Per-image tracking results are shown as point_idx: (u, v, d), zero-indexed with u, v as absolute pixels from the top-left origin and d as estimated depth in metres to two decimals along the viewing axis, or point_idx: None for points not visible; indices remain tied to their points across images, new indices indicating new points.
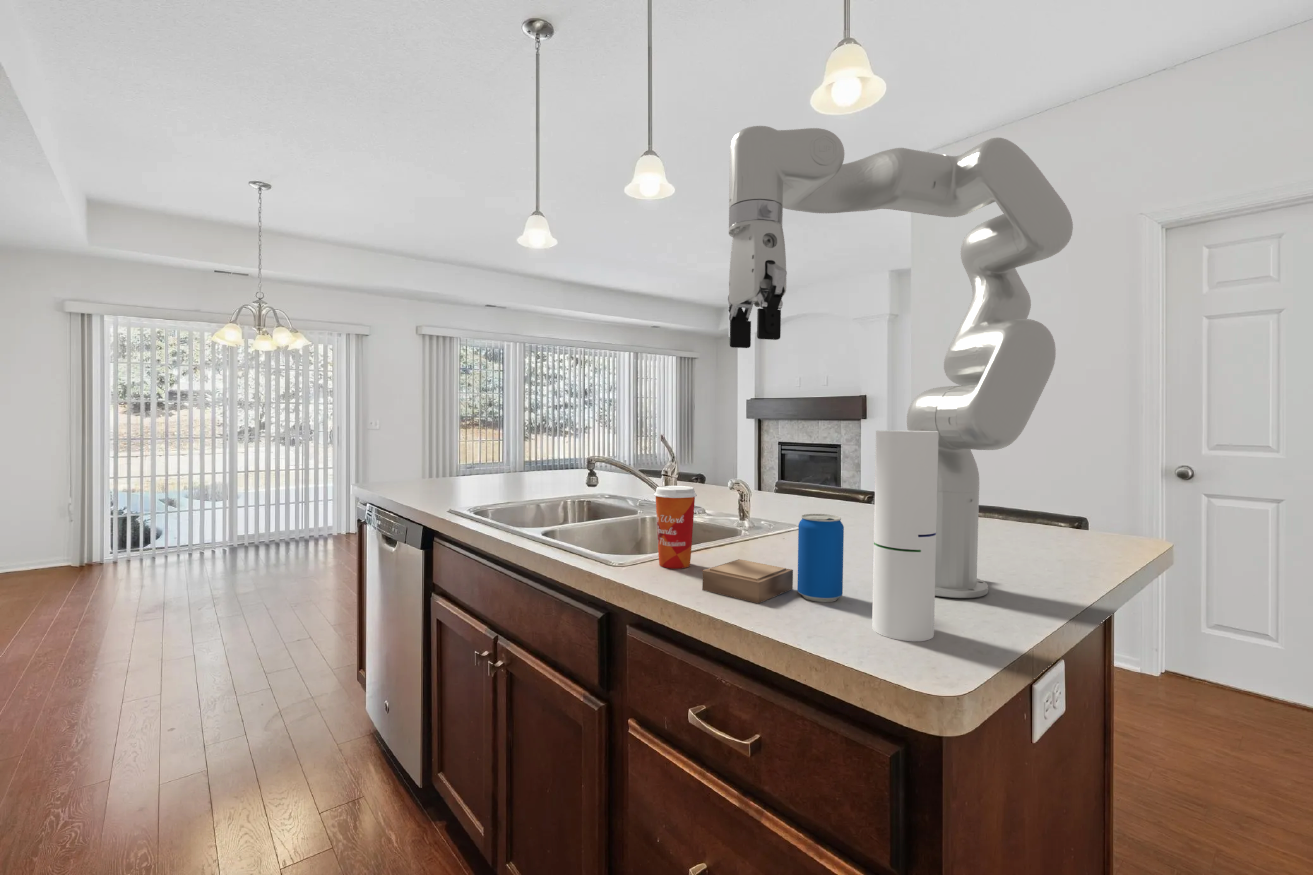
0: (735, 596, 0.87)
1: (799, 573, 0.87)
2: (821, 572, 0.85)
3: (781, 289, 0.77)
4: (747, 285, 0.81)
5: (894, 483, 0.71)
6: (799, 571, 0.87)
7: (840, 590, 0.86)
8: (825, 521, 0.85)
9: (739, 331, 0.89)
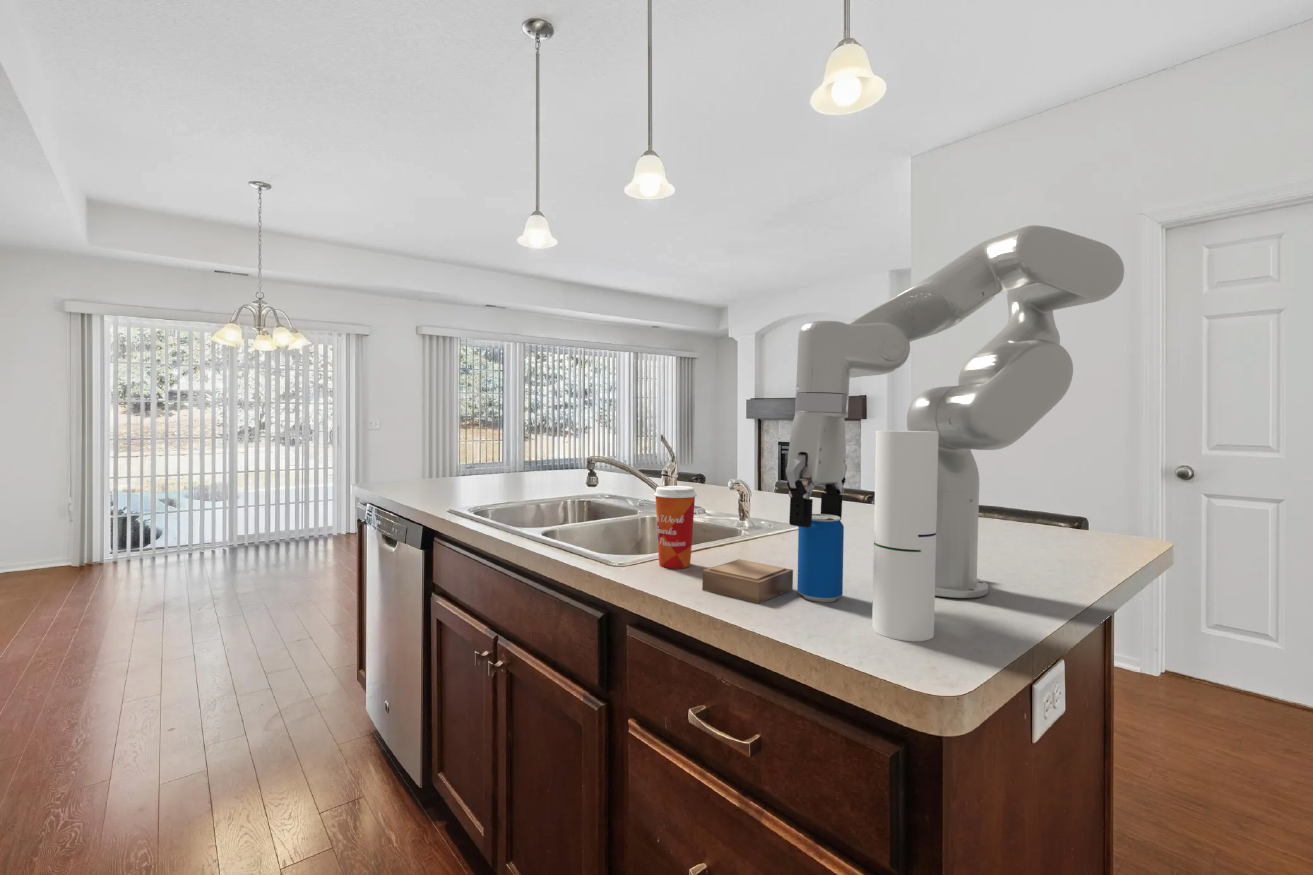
0: (735, 596, 0.87)
1: (799, 573, 0.87)
2: (821, 572, 0.85)
3: None
4: (839, 472, 0.88)
5: (894, 483, 0.71)
6: (799, 571, 0.87)
7: (840, 590, 0.86)
8: (825, 521, 0.85)
9: None
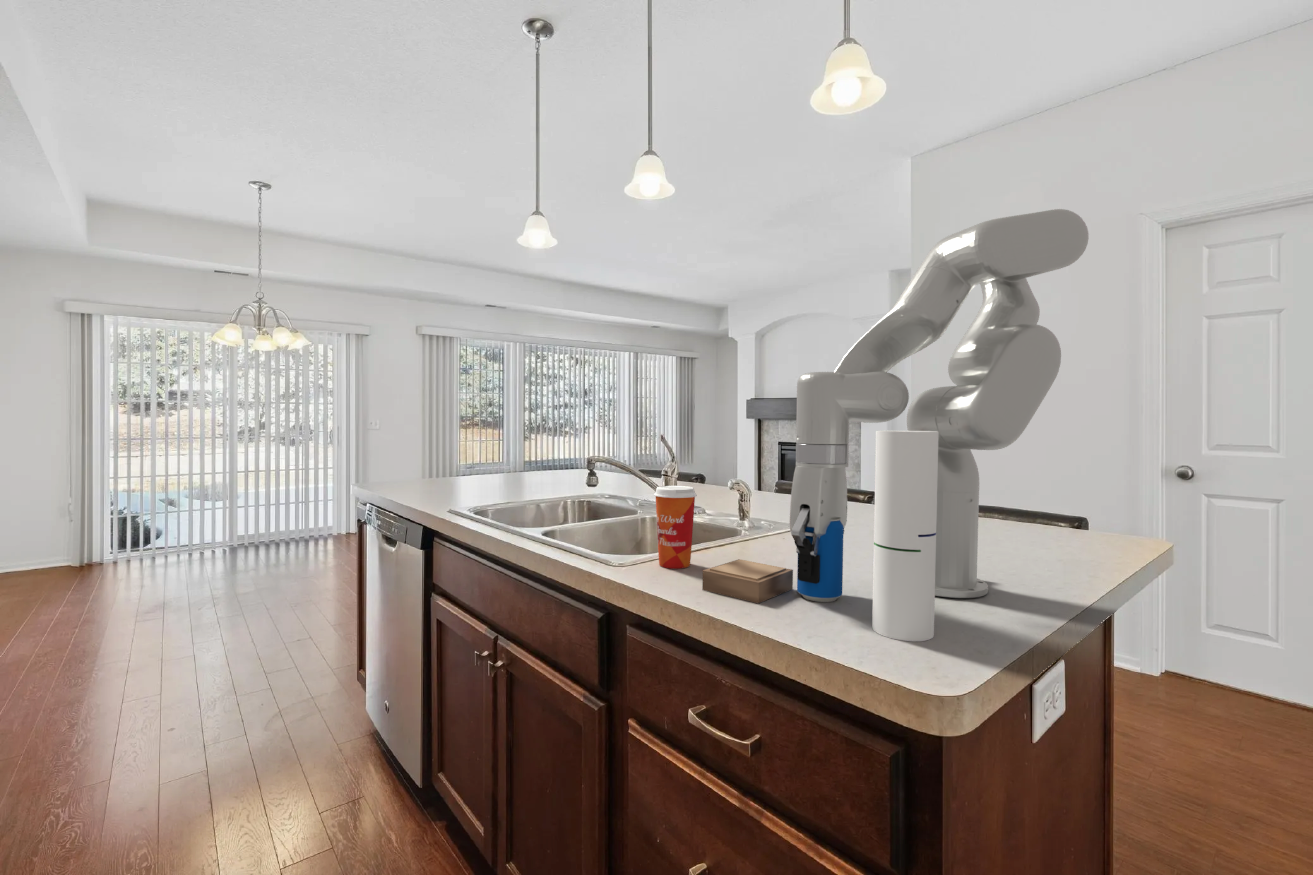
0: (735, 596, 0.87)
1: None
2: (820, 572, 0.85)
3: None
4: (842, 520, 0.88)
5: (894, 483, 0.71)
6: None
7: (840, 590, 0.86)
8: None
9: None
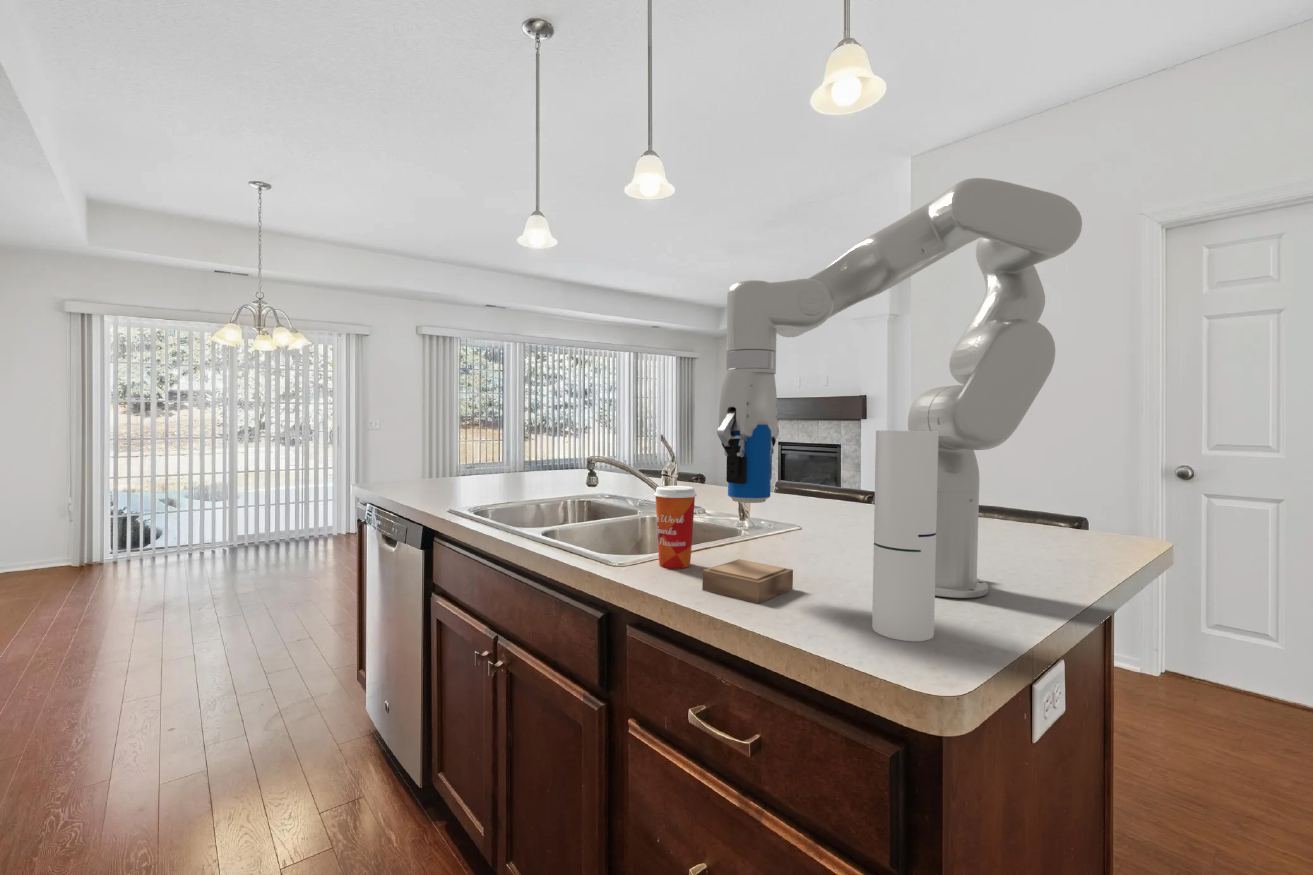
0: (735, 596, 0.87)
1: None
2: (747, 473, 0.88)
3: None
4: (771, 427, 0.91)
5: (894, 483, 0.71)
6: None
7: (767, 492, 0.89)
8: None
9: None
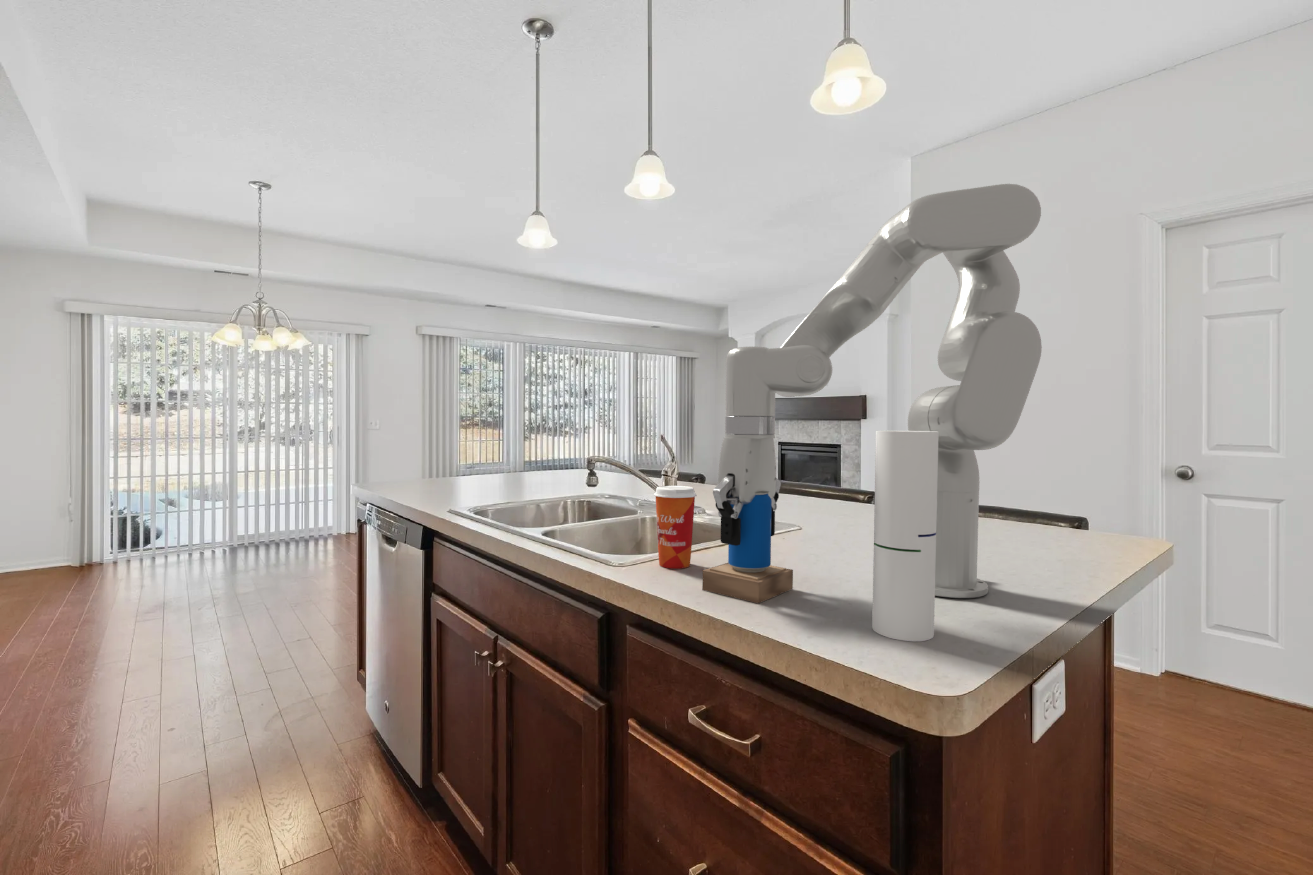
0: (735, 596, 0.87)
1: (729, 545, 0.91)
2: (747, 543, 0.88)
3: None
4: (769, 490, 0.92)
5: (894, 483, 0.71)
6: None
7: (767, 561, 0.89)
8: None
9: None
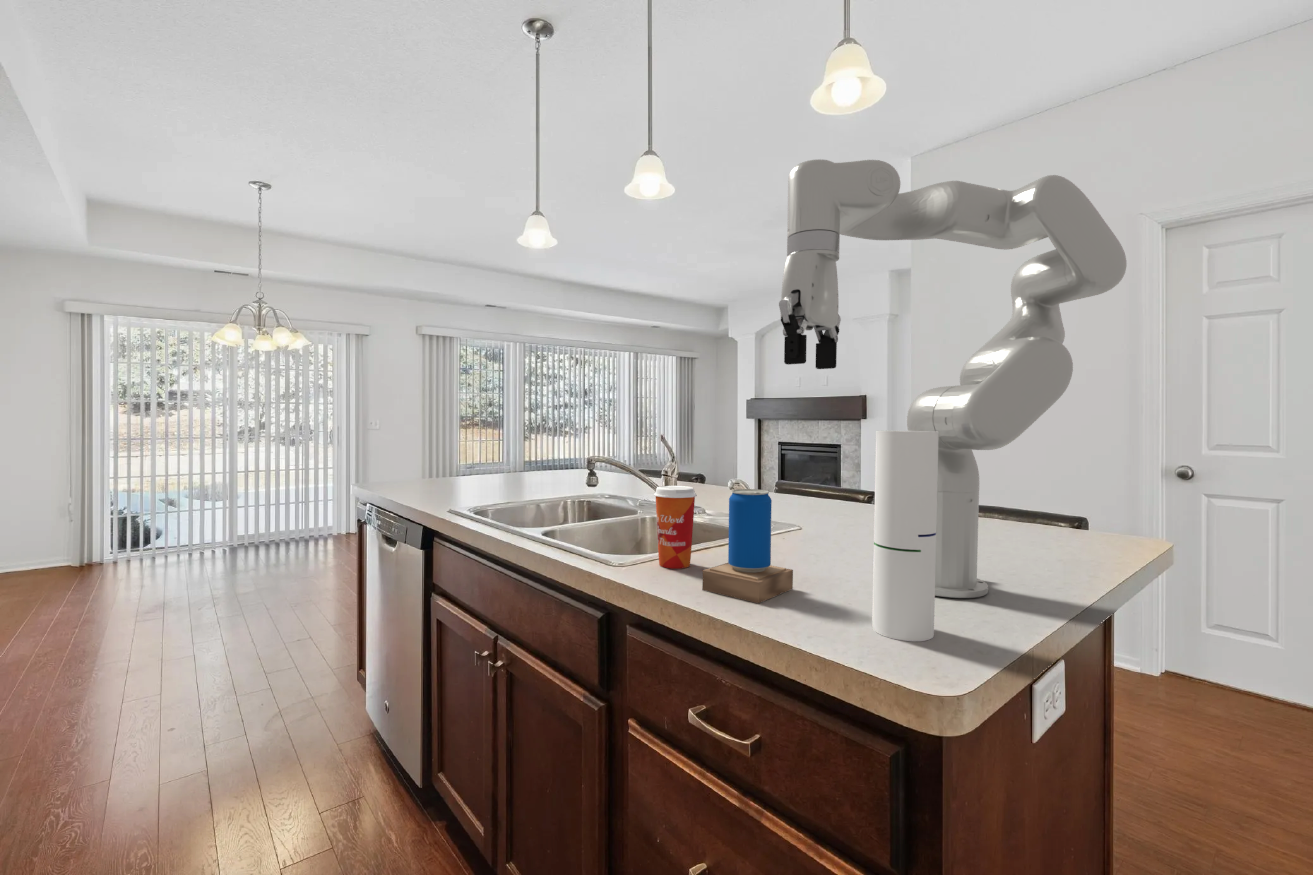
0: (735, 596, 0.87)
1: (729, 545, 0.91)
2: (747, 543, 0.88)
3: None
4: (833, 316, 0.89)
5: (894, 483, 0.71)
6: (729, 543, 0.91)
7: (767, 561, 0.89)
8: (752, 494, 0.89)
9: None
